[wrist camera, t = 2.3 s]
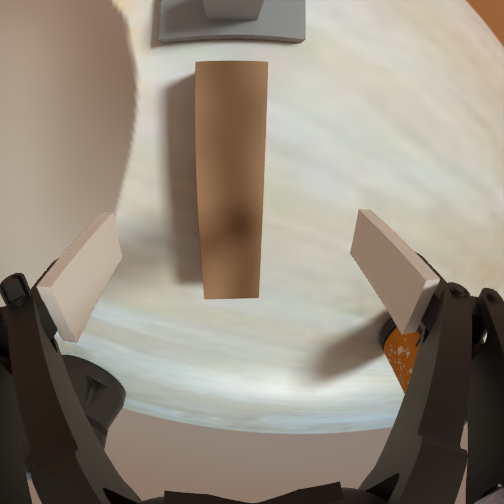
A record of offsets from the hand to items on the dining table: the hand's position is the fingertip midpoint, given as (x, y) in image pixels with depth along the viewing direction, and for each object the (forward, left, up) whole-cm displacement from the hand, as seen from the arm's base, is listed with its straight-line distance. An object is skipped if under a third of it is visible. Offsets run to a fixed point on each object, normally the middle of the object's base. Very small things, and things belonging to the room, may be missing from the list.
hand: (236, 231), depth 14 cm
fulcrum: (0, +16, -12) cm, 20 cm away
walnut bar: (0, 0, -12) cm, 12 cm away
